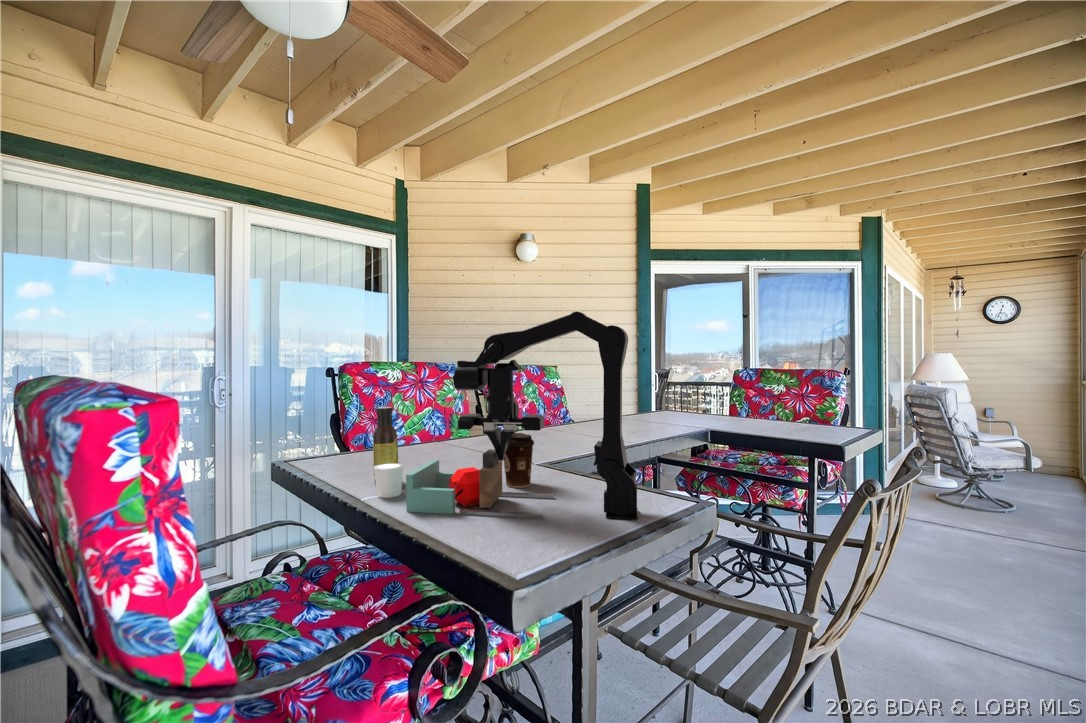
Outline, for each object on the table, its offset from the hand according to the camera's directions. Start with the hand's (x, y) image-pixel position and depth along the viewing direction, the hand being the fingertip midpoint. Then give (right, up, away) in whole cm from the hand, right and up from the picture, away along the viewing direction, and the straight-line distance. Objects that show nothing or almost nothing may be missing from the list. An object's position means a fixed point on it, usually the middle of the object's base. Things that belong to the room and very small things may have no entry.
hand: (501, 460), depth 112 cm
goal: (-13, -10, +3) cm, 17 cm away
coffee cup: (+3, -10, +17) cm, 20 cm away
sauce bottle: (-32, -10, +20) cm, 39 cm away
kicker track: (+2, -10, 0) cm, 10 cm away
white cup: (-28, -10, +9) cm, 31 cm away
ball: (-8, -10, +2) cm, 13 cm away
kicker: (-2, -10, +1) cm, 10 cm away
